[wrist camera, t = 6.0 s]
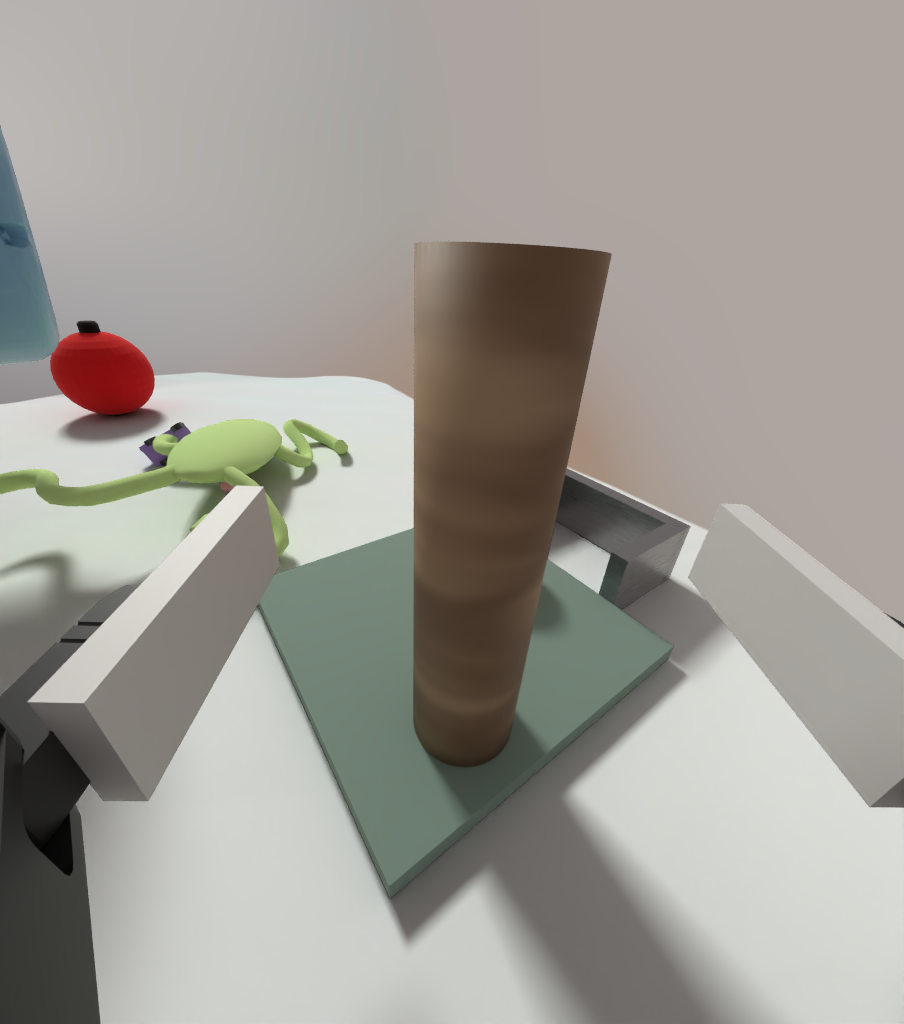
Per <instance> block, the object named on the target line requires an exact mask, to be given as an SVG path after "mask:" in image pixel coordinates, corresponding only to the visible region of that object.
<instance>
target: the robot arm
mask: <svg viewBox="0 0 904 1024" xmlns="http://www.w3.org/2000/svg"><path fill="white" fill-rule="evenodd" d="M58 343H59V332H58V327H57V323H56V319H55V315H54V312H53V307H52V304H51V300H50V296H49V293H48V289H47V285H46V282H45V278H44V274H43V271H42V267H41V264H40V260H39V256H38V253H37V250H36V246H35V242H34V239H33V235H32V232H31V228H30V225H29V221H28V218H27V214H26V211H25V207H24V203H23V200H22V196H21V193H20V189H19V186H18V182H17V179H16V175H15V172H14V169H13V165H12V162H11V159H10V155H9V152H8V148H7V145H6V143H5V139H4V137H3V134H2V131H1V127H0V365H5V364H14V363H24V362H32V361H39V360H42V359H45V358H46V357H48V356H49V355H51V354H52V353H53V352H54V351H55V350H56V348H57V347H58ZM279 566H280V562H279V557H278V552H277V547H276V542H275V537H274V533H273V528H272V523H271V518H270V513H269V508H268V504H267V499H266V494H265V489H264V487H263V486H235V487H234V488H233V489H232V490H231V491H230V492H229V493H228V494H227V495H226V496H225V498H224V499H223V500H222V501H221V502H220V503H219V504H218V505H217V506H216V507H215V508H214V509H213V510H212V511H211V512H210V513H209V514H208V515H207V516H206V517H205V518H204V519H203V520H202V521H201V522H200V523H199V524H198V525H197V527H196V528H195V529H194V530H193V531H192V532H191V533H190V534H189V535H188V536H187V537H186V538H185V539H184V540H183V541H182V542H181V543H180V544H179V545H178V546H177V547H176V548H175V549H174V550H173V551H172V552H171V553H170V555H169V556H168V557H167V558H166V559H165V560H164V561H163V562H162V563H161V564H160V565H159V566H158V567H157V568H156V569H155V570H154V571H153V572H152V573H151V574H150V575H149V576H148V577H147V578H146V579H145V580H144V581H143V582H142V584H141V585H140V586H128V585H126V586H124V587H123V588H121V589H119V590H118V591H116V592H114V593H113V594H111V595H109V596H108V597H106V598H104V599H103V600H101V601H99V602H98V603H97V604H96V605H95V606H94V607H93V608H92V609H91V610H90V611H89V612H88V613H87V614H86V615H85V616H84V617H82V618H81V619H80V620H79V621H78V625H77V626H73V627H72V628H71V629H70V630H69V631H68V632H67V633H66V634H65V635H64V636H63V637H62V638H61V641H60V643H55V644H54V645H53V646H52V647H51V648H50V649H49V650H48V651H47V652H46V653H45V654H44V655H43V656H42V657H41V658H40V659H39V660H38V661H37V662H36V663H35V664H34V665H33V666H32V667H30V668H29V669H28V670H27V671H26V672H25V673H24V674H23V675H22V676H21V677H20V678H19V679H18V680H17V681H16V682H15V683H14V684H13V685H12V686H11V687H10V688H9V689H8V690H7V691H6V692H4V693H3V694H2V695H1V696H0V1024H100V1015H99V1004H98V993H97V983H96V972H95V962H94V951H93V941H92V930H91V920H90V909H89V898H88V888H87V877H86V867H85V856H84V846H83V835H82V825H81V816H80V813H79V811H78V809H77V807H76V805H75V804H76V802H77V801H78V799H79V798H80V796H81V795H82V794H83V792H84V791H85V789H86V788H87V786H88V785H89V783H90V784H91V786H92V787H93V788H94V790H95V791H96V792H97V793H98V795H99V796H100V797H101V799H102V800H103V801H149V799H150V797H151V795H152V794H153V792H154V790H155V788H156V786H157V785H158V783H159V781H160V779H161V777H162V776H163V774H164V772H165V770H166V768H167V767H168V765H169V763H170V761H171V760H172V758H173V756H174V754H175V752H176V751H177V749H178V747H179V745H180V743H181V742H182V740H183V738H184V736H185V734H186V733H187V731H188V729H189V727H190V725H191V724H192V722H193V720H194V718H195V716H196V715H197V713H198V711H199V709H200V708H201V706H202V704H203V702H204V700H205V699H206V697H207V695H208V693H209V691H210V690H211V688H212V686H213V684H214V682H215V681H216V679H217V677H218V675H219V673H220V672H221V670H222V668H223V666H224V664H225V663H226V661H227V659H228V657H229V655H230V654H231V652H232V650H233V648H234V647H235V645H236V643H237V641H238V639H239V638H240V636H241V634H242V632H243V630H244V629H245V627H246V625H247V623H248V621H249V620H250V618H251V616H252V614H253V612H254V611H255V609H256V607H257V605H258V603H259V602H260V600H261V598H262V596H263V594H264V593H265V591H266V589H267V587H268V586H269V584H270V582H271V580H272V578H273V577H274V575H275V573H276V571H277V569H278V568H279ZM688 578H689V579H690V580H691V582H692V583H693V584H694V585H695V587H696V588H697V589H698V591H699V592H700V593H701V594H702V596H703V597H704V598H705V599H706V601H707V602H708V603H709V605H710V606H711V607H712V608H713V610H714V611H715V612H716V613H717V615H718V616H719V617H720V618H721V620H722V621H723V622H724V624H725V625H726V626H727V627H728V629H729V630H730V631H731V632H732V634H733V635H734V636H735V637H736V639H737V640H738V641H739V643H740V644H741V645H742V646H743V648H744V649H745V650H746V651H747V653H748V654H749V655H750V657H751V658H752V659H753V660H754V662H755V663H756V664H757V665H758V667H759V668H760V669H761V670H762V672H763V673H764V674H765V676H766V677H767V678H768V679H769V681H770V682H771V683H772V684H773V686H774V687H775V688H776V689H777V691H778V692H779V693H780V695H781V696H782V697H783V698H784V700H785V701H786V702H787V703H788V705H789V706H790V707H791V708H792V710H793V711H794V712H795V714H796V715H797V716H798V717H799V719H800V720H801V721H802V722H803V724H804V725H805V726H806V728H807V729H808V730H809V731H810V733H811V734H812V735H813V736H814V738H815V739H816V740H817V741H818V743H819V744H820V745H821V747H822V748H823V749H824V750H825V752H826V753H827V754H828V755H829V757H830V758H831V759H832V760H833V762H834V763H835V764H836V766H837V767H838V768H839V769H840V771H841V772H842V773H843V774H844V776H845V777H846V778H847V780H848V781H849V782H850V783H851V785H852V786H853V787H854V788H855V790H856V791H857V792H858V793H859V795H860V796H861V797H862V799H863V800H864V801H865V802H866V804H867V805H868V806H869V807H904V624H903V623H901V622H900V621H898V620H896V619H894V618H893V617H891V616H889V615H887V614H886V613H884V612H882V611H881V610H880V609H878V608H877V607H876V606H874V605H873V604H872V603H871V602H869V601H868V600H867V599H865V598H864V597H863V596H862V595H861V594H859V593H858V592H857V591H855V590H854V589H853V588H852V587H850V586H849V585H848V584H846V583H845V582H844V581H842V580H841V579H840V578H839V577H838V576H836V575H835V574H834V573H832V572H831V571H830V570H829V569H827V568H826V567H825V566H823V565H822V564H821V563H820V562H818V561H817V560H816V559H815V558H813V557H812V556H811V555H809V554H808V553H807V552H805V551H804V550H803V549H802V548H800V547H799V546H798V545H797V544H795V543H794V542H793V541H791V540H790V539H789V538H788V537H786V536H785V535H784V534H783V533H781V532H780V531H779V530H778V529H776V528H775V527H774V526H772V525H771V524H770V523H769V522H767V521H766V520H765V519H763V518H762V517H761V516H760V515H758V514H757V513H756V512H755V511H753V510H752V509H751V508H749V507H748V506H747V505H738V504H720V506H719V508H718V511H717V513H716V515H715V518H714V520H713V522H712V524H711V526H710V529H709V531H708V533H707V535H706V538H705V540H704V542H703V544H702V547H701V549H700V551H699V553H698V556H697V558H696V560H695V562H694V565H693V567H692V569H691V571H690V574H689V576H688Z"/></svg>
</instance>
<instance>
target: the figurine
mask: <svg viewBox="0 0 904 1024" xmlns="http://www.w3.org/2000/svg"><path fill="white" fill-rule="evenodd" d="M283 429H284V432H285V434H286V435H287V436H288V437H289V438H290V439H291V440H292V442H293V443H294V444H295V446H296V447H297V449H298V451H299V453H300V454H298V453H296V452H294V451H292V450H290V449H288V448H286V447H284V446H282V445H281V441H282V437H281V435H280V434H279V432H278V431H277V429H276V428H275V427H274V426H273V425H270V424H268V423H266V422H263V421H258V420H254V419H237V420H227V421H224V422H220V423H217V424H213V425H210V426H207V427H204V428H200V429H198V430H196V431H194V432H192V433H191V432H190V431H189V430H188V429H187V427H186V426H185V425H184V424H183V423H181V422H179V423H177V424H175V425H174V426H172V427H171V428H170V430H168V431H167V432H165V433H163V434H162V435H160V436H158V437H152V438H150V439H148V440H146V441H144V443H145V444H144V445H143V446H141V447H139V448H140V450H141V451H142V452H144V454H145V455H146V456H147V457H148V458H149V459H150V460H151V461H152V462H153V463H154V464H155V465H156V466H160V465H162V466H164V465H165V464H167V465H166V467H163V468H160V469H157V470H153V471H150V472H146V473H142V474H138V475H134V476H130V477H126V478H122V479H118V480H114V481H111V482H107V483H103V484H98V485H92V486H86V487H63V486H59V478H58V477H57V475H56V474H55V473H53V472H51V471H48V470H44V469H29V470H21V471H12V472H8V473H3V474H0V494H3V493H7V492H11V491H15V490H19V489H26V488H33V487H35V488H36V492H37V494H38V495H39V496H40V497H41V498H43V499H44V500H45V501H47V502H48V503H50V504H56V505H63V506H93V505H98V504H103V503H108V502H113V501H116V500H120V499H123V498H127V497H131V496H134V495H137V494H141V493H144V492H148V491H151V490H155V489H159V488H162V487H166V486H168V485H171V484H173V483H176V482H179V481H180V480H183V481H186V482H192V483H214V482H222V483H221V486H220V488H221V489H222V490H223V491H228V492H230V491H231V490H232V489H233V488H234V487H235V486H259V485H258V484H257V483H256V482H255V481H254V480H252V479H251V478H250V477H248V476H247V475H246V474H248V473H251V472H254V471H256V470H257V469H259V468H260V467H262V466H263V465H265V464H266V463H268V462H269V461H270V460H271V459H272V458H273V457H274V456H275V457H277V458H278V459H281V460H283V461H285V462H287V463H289V464H291V465H294V466H296V467H308V466H310V465H311V463H312V460H313V453H312V450H311V448H310V445H309V443H308V442H307V440H306V439H305V437H304V436H303V435H302V434H301V433H303V434H305V435H307V436H309V437H311V438H313V439H315V440H317V441H319V442H321V443H323V444H324V445H326V446H328V447H330V448H332V449H333V450H335V451H336V452H337V453H339V454H345V453H346V452H347V450H348V446H347V444H346V443H345V442H344V441H343V440H337V439H336V438H334V437H333V436H331V435H329V434H327V433H325V432H323V431H321V430H319V429H317V428H315V427H313V426H312V425H310V424H307V423H304V422H301V421H298V420H295V419H291V420H288V421H287V422H285V424H284V426H283ZM265 494H266V499H267V504H268V508H269V513H270V518H271V523H272V528H273V533H274V537H275V542H276V547H277V552H278V557H280V556H281V555H282V553H283V552H284V550H285V549H286V547H287V546H288V544H289V540H288V530H287V526H286V524H285V522H284V520H283V518H282V516H281V514H280V513H279V511H278V510H277V508H276V506H275V505H274V503H273V502H272V500H271V499H270V498H269V496H268V495H267V493H266V492H265ZM207 515H208V514H205V515H204V516H203V517H201V518H200V519H199V520H198V521H197V522H196V523H195V524H194V525H193V526H192V527H191V528H190V531H191V532H192V531H193V530H194V529H195V528H196V527H197V525H198V524H199V523H200V522H201V521H202V520H203V519H204V518H205V517H206V516H207Z"/></svg>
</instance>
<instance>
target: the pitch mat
mask: <svg viewBox="0 0 904 1024" xmlns="http://www.w3.org/2000/svg"><path fill="white" fill-rule="evenodd" d="M258 606H259V608H260V610H261V613H262V615H263V617H264V619H265V622H266V624H267V626H268V628H269V631H270V633H271V635H272V637H273V639H274V642H275V644H276V646H277V648H278V651H279V653H280V655H281V657H282V660H283V662H284V664H285V666H286V668H287V671H288V673H289V675H290V677H291V680H292V682H293V684H294V686H295V688H296V691H297V693H298V695H299V697H300V700H301V702H302V704H303V706H304V709H305V711H306V713H307V715H308V717H309V720H310V722H311V724H312V726H313V729H314V731H315V733H316V735H317V737H318V740H319V742H320V744H321V746H322V749H323V751H324V753H325V755H326V758H327V760H328V762H329V764H330V766H331V769H332V771H333V773H334V775H335V778H336V780H337V782H338V784H339V786H340V789H341V791H342V793H343V795H344V798H345V800H346V802H347V804H348V807H349V809H350V811H351V813H352V815H353V818H354V820H355V822H356V824H357V827H358V829H359V831H360V833H361V836H362V838H363V840H364V842H365V844H366V847H367V849H368V851H369V853H370V856H371V858H372V860H373V862H374V864H375V867H376V869H377V871H378V873H379V876H380V878H381V880H382V882H383V885H384V887H385V889H386V891H387V893H388V896H389V898H390V899H391V898H392V897H393V896H394V895H395V894H396V893H397V892H399V891H400V890H401V889H402V888H403V887H404V886H406V885H407V884H408V883H409V882H410V881H411V880H413V879H414V878H415V877H416V876H417V875H418V874H420V873H421V872H422V871H423V870H424V869H425V868H426V867H428V866H429V865H430V864H431V863H432V862H433V861H435V860H436V859H437V858H438V857H439V856H440V855H442V854H443V853H444V852H445V851H446V850H447V849H449V848H450V847H451V846H452V845H453V844H454V843H455V842H457V841H458V840H459V839H460V838H461V837H462V836H464V835H465V834H466V833H467V832H468V831H469V830H471V829H472V828H473V827H474V826H475V825H476V824H477V823H479V822H480V821H481V820H482V819H483V818H484V817H486V816H487V815H488V814H489V813H490V812H491V811H493V810H494V809H495V808H496V807H497V806H498V805H500V804H501V803H502V802H503V801H504V800H505V799H506V798H508V797H509V796H510V795H511V794H512V793H513V792H515V791H516V790H517V789H518V788H519V787H520V786H522V785H523V784H524V783H525V782H526V781H527V780H528V779H530V778H531V777H532V776H533V775H534V774H535V773H537V772H538V771H539V770H540V769H541V768H542V767H544V766H545V765H546V764H547V763H548V762H549V761H551V760H552V759H553V758H554V757H555V756H556V755H557V754H559V753H560V752H561V751H562V750H563V749H564V748H566V747H567V746H568V745H569V744H570V743H571V742H573V741H574V740H575V739H576V738H577V737H578V736H579V735H581V734H582V733H583V732H584V731H585V730H586V729H588V728H589V727H590V726H591V725H592V724H593V723H595V722H596V721H597V720H598V719H599V718H600V717H602V716H603V715H604V714H605V713H606V712H607V711H608V710H610V709H611V708H612V707H613V706H614V705H615V704H617V703H618V702H619V701H620V700H621V699H622V698H624V697H625V696H626V695H627V694H628V693H629V692H631V691H632V690H633V689H634V688H635V687H636V686H637V685H639V684H640V683H641V682H642V681H643V680H644V679H646V678H647V677H648V676H649V675H650V674H651V673H653V672H654V671H655V670H656V669H657V668H658V667H659V666H661V665H662V664H663V663H664V662H665V661H666V660H667V659H668V657H669V655H670V653H671V651H672V649H673V647H674V646H673V645H671V644H670V643H669V642H667V641H666V640H664V639H663V638H661V637H660V636H658V635H657V634H655V633H654V632H653V631H651V630H650V629H648V628H647V627H645V626H644V625H642V624H641V623H640V622H638V621H637V620H635V619H634V618H632V617H631V616H629V615H628V614H626V613H625V612H624V611H622V610H621V609H619V608H618V607H616V606H615V605H613V604H612V603H611V602H609V601H608V600H606V599H605V598H603V597H602V596H600V595H599V594H597V593H596V592H595V591H593V590H592V589H590V588H589V587H587V586H586V585H584V584H583V583H582V582H580V581H579V580H577V579H576V578H574V577H573V576H571V575H570V574H568V573H567V572H566V571H564V570H563V569H561V568H560V567H558V566H557V565H555V564H554V563H553V562H551V561H550V560H548V559H547V563H546V568H545V573H544V577H543V582H542V587H541V592H540V596H539V601H538V606H537V611H536V615H535V620H534V625H533V630H532V634H531V639H530V644H529V649H528V653H527V658H526V663H525V668H524V672H523V677H522V682H521V687H520V691H519V696H518V701H517V706H516V710H515V715H514V720H513V724H512V729H511V733H510V737H509V740H508V742H507V744H506V746H505V747H504V749H503V750H502V751H501V752H500V753H499V754H498V755H497V756H496V757H495V758H494V759H492V760H491V761H489V762H487V763H485V764H482V765H479V766H475V767H455V766H451V765H448V764H445V763H443V762H441V761H439V760H437V759H436V758H434V757H433V756H432V755H430V754H429V753H428V752H427V751H426V750H425V749H424V747H423V746H422V745H421V743H420V741H419V739H418V738H417V735H416V732H415V729H414V723H413V606H414V528H413V529H410V530H407V531H404V532H401V533H398V534H395V535H392V536H389V537H386V538H383V539H380V540H377V541H374V542H371V543H368V544H365V545H362V546H359V547H356V548H353V549H350V550H347V551H344V552H341V553H338V554H335V555H332V556H329V557H326V558H323V559H320V560H317V561H314V562H311V563H308V564H305V565H302V566H299V567H296V568H293V569H290V570H287V571H284V572H281V573H278V574H275V575H274V577H273V578H272V580H271V582H270V584H269V586H268V587H267V589H266V591H265V593H264V594H263V596H262V598H261V600H260V602H259V603H258Z"/></svg>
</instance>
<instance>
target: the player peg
mask: <svg viewBox="0 0 904 1024" xmlns="http://www.w3.org/2000/svg"><path fill="white" fill-rule="evenodd" d="M610 260H611V253H607V252H602V251H594V250H586V249H576V248H565V247H553V246H539V245H523V244H504V243H502V244H501V243H480V242H419V243H415V264H414V268H415V269H414V270H415V271H414V281H415V282H414V284H415V285H414V606H413V723H414V729H415V732H416V735H417V738H418V739H419V741H420V743H421V745H422V746H423V747H424V749H425V750H426V751H427V752H428V753H429V754H430V755H432V756H433V757H434V758H436V759H437V760H439V761H441V762H443V763H445V764H448V765H451V766H455V767H475V766H479V765H482V764H485V763H487V762H489V761H491V760H492V759H494V758H495V757H496V756H497V755H498V754H499V753H500V752H501V751H502V750H503V749H504V747H505V746H506V744H507V742H508V740H509V737H510V733H511V729H512V724H513V720H514V715H515V710H516V706H517V701H518V696H519V691H520V687H521V682H522V677H523V672H524V668H525V663H526V658H527V653H528V649H529V644H530V639H531V634H532V630H533V625H534V620H535V615H536V611H537V606H538V601H539V596H540V592H541V587H542V582H543V577H544V573H545V568H546V563H547V558H548V554H549V549H550V544H551V540H552V535H553V530H554V525H555V521H556V516H557V511H558V506H559V502H560V497H561V492H562V487H563V483H564V478H565V473H566V468H567V463H568V459H569V454H570V449H571V445H572V440H573V435H574V430H575V426H576V421H577V416H578V411H579V407H580V402H581V397H582V393H583V388H584V383H585V378H586V373H587V369H588V364H589V359H590V355H591V349H592V345H593V340H594V336H595V331H596V325H597V321H598V317H599V312H600V307H601V302H602V298H603V293H604V288H605V283H606V279H607V274H608V269H609V264H610Z"/></svg>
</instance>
